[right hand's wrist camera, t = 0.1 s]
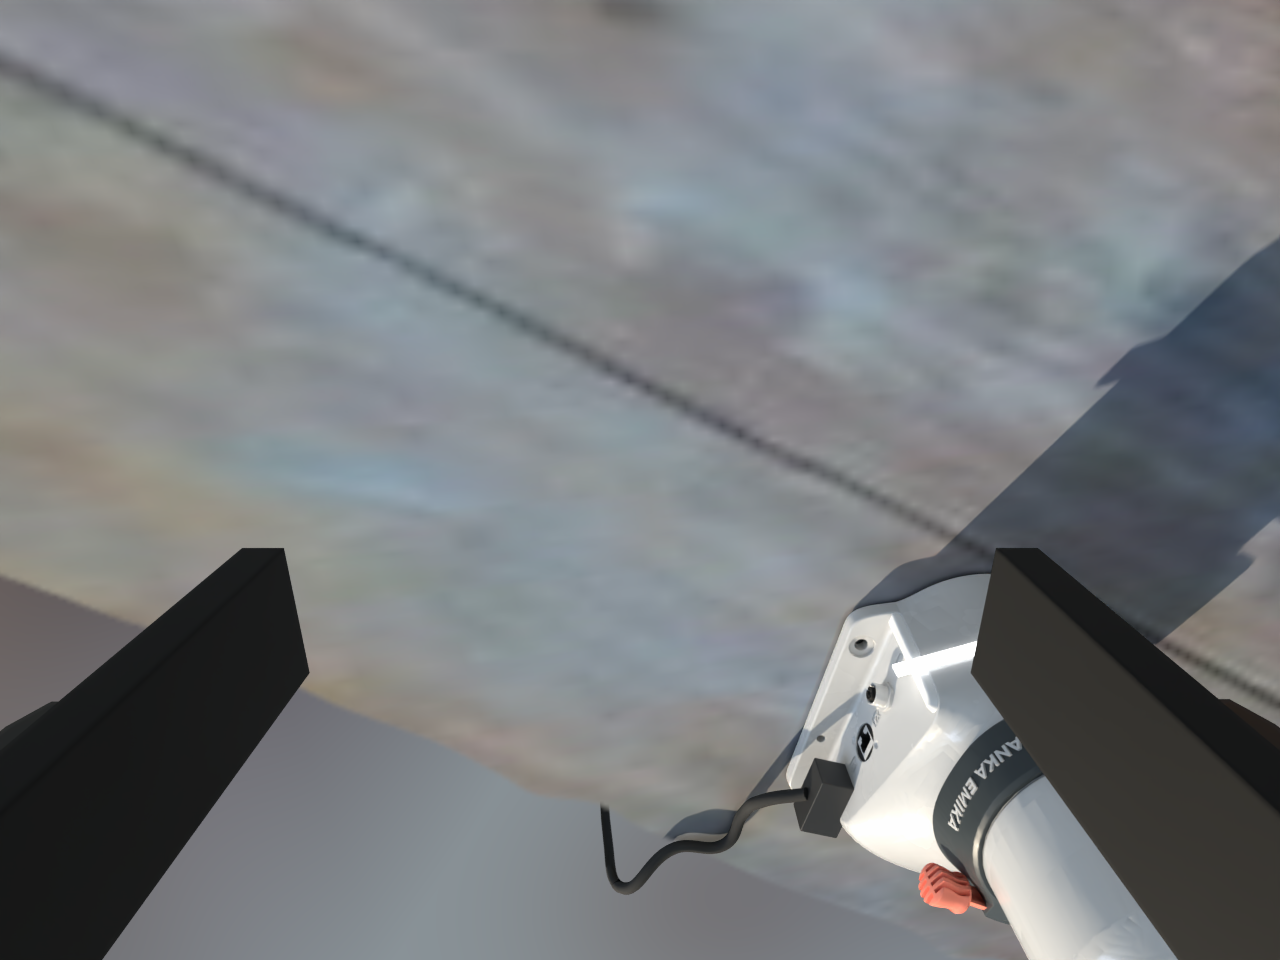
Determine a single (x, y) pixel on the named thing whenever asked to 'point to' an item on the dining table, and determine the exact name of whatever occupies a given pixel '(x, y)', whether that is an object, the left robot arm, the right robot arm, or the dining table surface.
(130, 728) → the right robot arm
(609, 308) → the dining table surface
